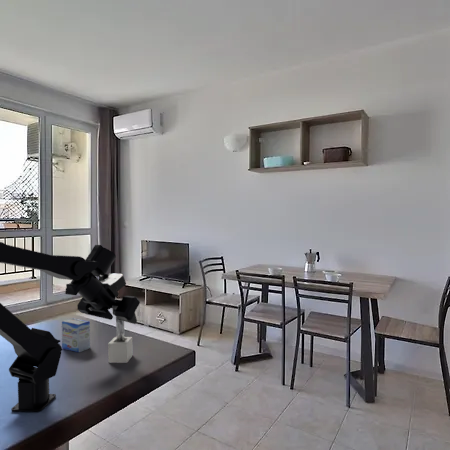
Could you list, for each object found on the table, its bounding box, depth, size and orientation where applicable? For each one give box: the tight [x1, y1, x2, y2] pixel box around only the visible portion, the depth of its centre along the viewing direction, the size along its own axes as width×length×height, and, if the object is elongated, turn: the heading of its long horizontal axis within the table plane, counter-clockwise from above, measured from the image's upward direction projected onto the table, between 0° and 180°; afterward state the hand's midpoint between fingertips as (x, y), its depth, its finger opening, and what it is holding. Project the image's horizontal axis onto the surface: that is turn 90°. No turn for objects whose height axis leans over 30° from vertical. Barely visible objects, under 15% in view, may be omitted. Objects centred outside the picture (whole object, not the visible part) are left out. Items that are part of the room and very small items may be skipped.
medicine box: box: [61, 317, 91, 353], centre depth 108 cm, size 8×4×9 cm, turn 62°
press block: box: [107, 336, 133, 364], centre depth 100 cm, size 5×5×6 cm
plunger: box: [112, 308, 126, 342], centre depth 99 cm, size 4×4×10 cm
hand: (123, 320), depth 101 cm, fingers open, 9 cm apart
